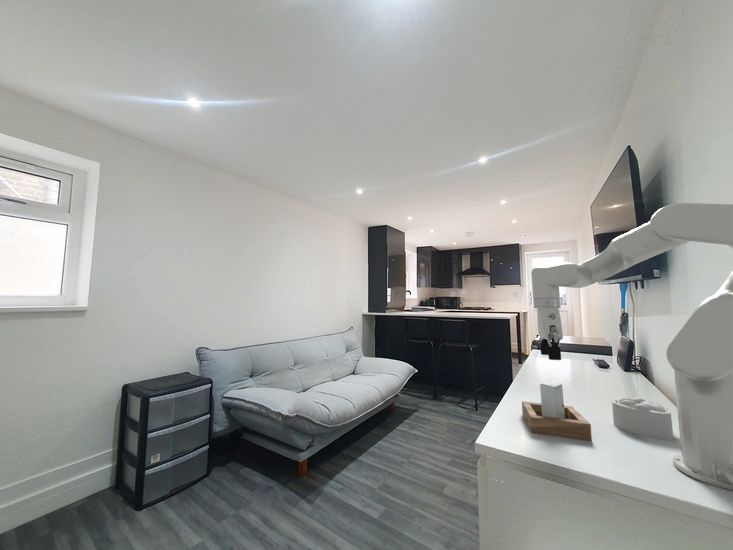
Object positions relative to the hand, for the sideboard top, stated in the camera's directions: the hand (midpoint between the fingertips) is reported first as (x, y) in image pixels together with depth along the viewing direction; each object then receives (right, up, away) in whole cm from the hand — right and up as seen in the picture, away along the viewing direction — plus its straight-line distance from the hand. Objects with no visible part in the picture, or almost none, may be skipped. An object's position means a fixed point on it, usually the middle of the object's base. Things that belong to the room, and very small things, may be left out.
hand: (550, 357), depth 93 cm
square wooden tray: (0, -21, -2) cm, 21 cm away
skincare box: (0, -21, -2) cm, 21 cm away
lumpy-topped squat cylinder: (+26, -22, -4) cm, 34 cm away
